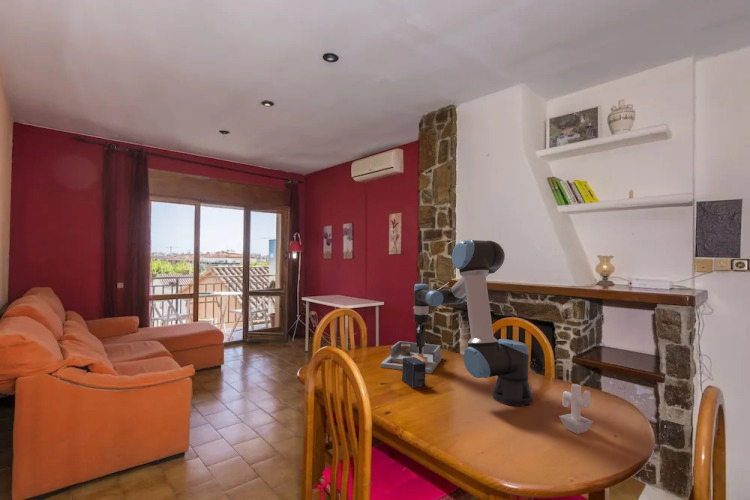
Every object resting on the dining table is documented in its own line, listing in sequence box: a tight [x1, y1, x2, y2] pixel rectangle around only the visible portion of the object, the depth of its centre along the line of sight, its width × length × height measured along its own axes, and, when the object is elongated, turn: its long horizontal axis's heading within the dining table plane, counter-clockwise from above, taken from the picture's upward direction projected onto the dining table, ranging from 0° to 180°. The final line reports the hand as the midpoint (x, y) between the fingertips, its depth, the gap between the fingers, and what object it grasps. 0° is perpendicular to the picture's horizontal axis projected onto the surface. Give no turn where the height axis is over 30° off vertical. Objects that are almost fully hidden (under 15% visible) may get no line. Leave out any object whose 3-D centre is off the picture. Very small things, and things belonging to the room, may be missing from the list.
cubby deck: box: [380, 340, 443, 374], centre depth 196 cm, size 26×28×7 cm
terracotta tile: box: [411, 355, 428, 366], centre depth 187 cm, size 8×8×3 cm
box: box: [401, 357, 426, 389], centre depth 165 cm, size 11×7×10 cm, turn 22°
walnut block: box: [401, 344, 410, 356], centre depth 205 cm, size 5×5×5 cm
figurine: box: [558, 383, 594, 435], centre depth 123 cm, size 7×9×15 cm
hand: (420, 359), depth 192 cm, fingers closed
